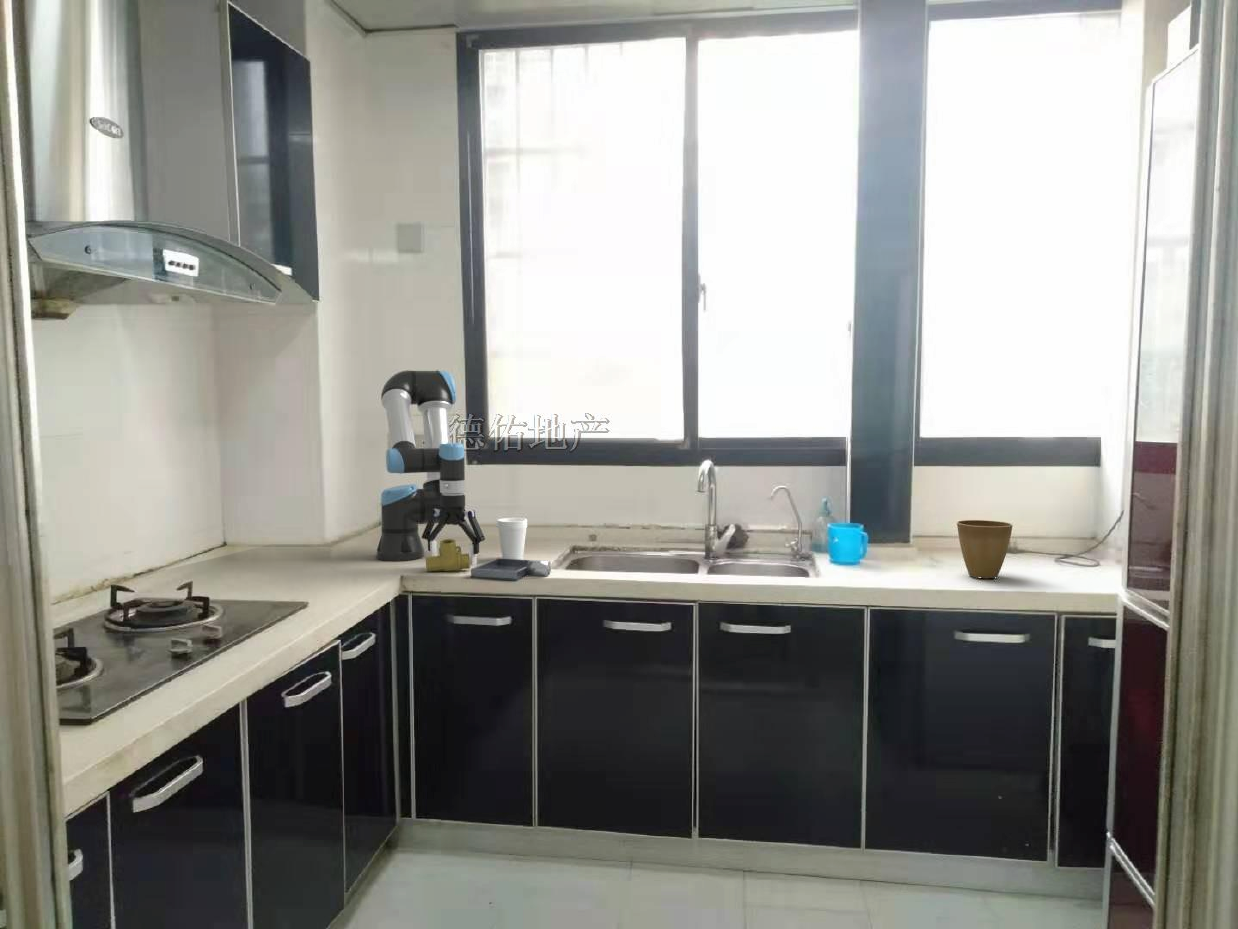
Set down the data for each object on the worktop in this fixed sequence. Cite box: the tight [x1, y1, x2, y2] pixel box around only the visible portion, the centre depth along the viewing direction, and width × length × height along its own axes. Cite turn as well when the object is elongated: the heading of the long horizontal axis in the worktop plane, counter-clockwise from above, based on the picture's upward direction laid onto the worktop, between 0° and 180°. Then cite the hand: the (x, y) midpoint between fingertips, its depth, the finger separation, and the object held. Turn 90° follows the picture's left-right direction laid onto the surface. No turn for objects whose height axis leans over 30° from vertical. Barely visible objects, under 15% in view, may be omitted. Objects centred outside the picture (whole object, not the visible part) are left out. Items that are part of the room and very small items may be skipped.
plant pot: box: [956, 519, 1014, 578], centre depth 244 cm, size 15×15×16 cm
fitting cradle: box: [470, 557, 552, 582], centre depth 248 cm, size 21×18×4 cm
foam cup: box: [496, 517, 528, 560], centre depth 270 cm, size 10×9×13 cm
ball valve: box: [425, 538, 471, 572], centre depth 254 cm, size 13×10×10 cm
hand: (453, 563), depth 255 cm, fingers open, 13 cm apart
